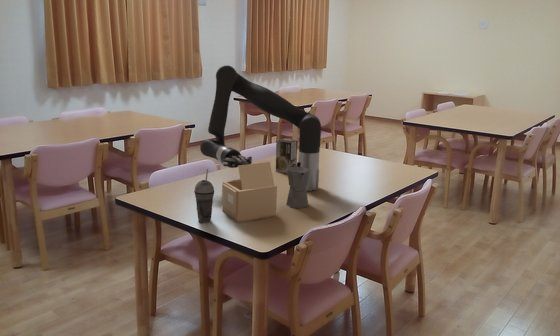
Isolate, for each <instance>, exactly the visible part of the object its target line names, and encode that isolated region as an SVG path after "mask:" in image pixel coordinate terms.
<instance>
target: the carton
mask: <svg viewBox="0 0 560 336" xmlns="http://www.w3.org/2000/svg"><path fill="white" fill-rule="evenodd" d="M277 193H278V185H276V184H274V186H267V187H260V188H253V189H247V190H242V185H241V179H240V178H239V179H233V180H224V181H222V184H221V205H222V212H223V213H224V214H226V215H227V216H228V217H229V218H231V219H233V220H234V221H235V222H237V224H241V223H246V222H250V221H251V222H252V221H257V220H262V219H263V220H264V219H267V218H273V216H274V217H276V216H277V199H278V196H277V195H278V194H277Z"/></svg>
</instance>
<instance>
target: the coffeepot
mask: <svg viewBox="0 0 560 336" xmlns="http://www.w3.org/2000/svg"><path fill="white" fill-rule="evenodd" d="M300 165H301V163H300V162H298V161H297V165H296V164H293V165H292V167H289V168H288V170H287V171H288V173H287V177H288V185H289V190H288V194H287V199H286V206H287V207H289V208H293V209H303V208H304V207H305V208H307V207H308V206H309V200H308V191H307V190H306V186H307V182H308V177H309V172H310V169H308V168H306V167H301V166H300Z"/></svg>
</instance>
